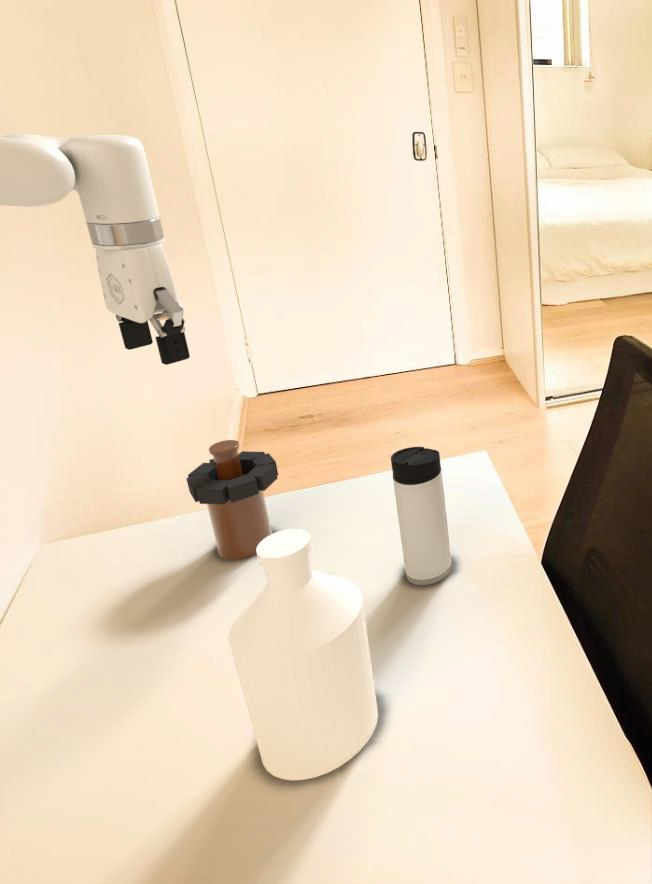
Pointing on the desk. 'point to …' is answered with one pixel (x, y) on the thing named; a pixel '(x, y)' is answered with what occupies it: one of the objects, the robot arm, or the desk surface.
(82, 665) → the desk surface
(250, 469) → the rubber ring
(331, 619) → the bottle
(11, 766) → the desk surface
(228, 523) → the amber bottle
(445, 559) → the travel mug
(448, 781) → the desk surface
